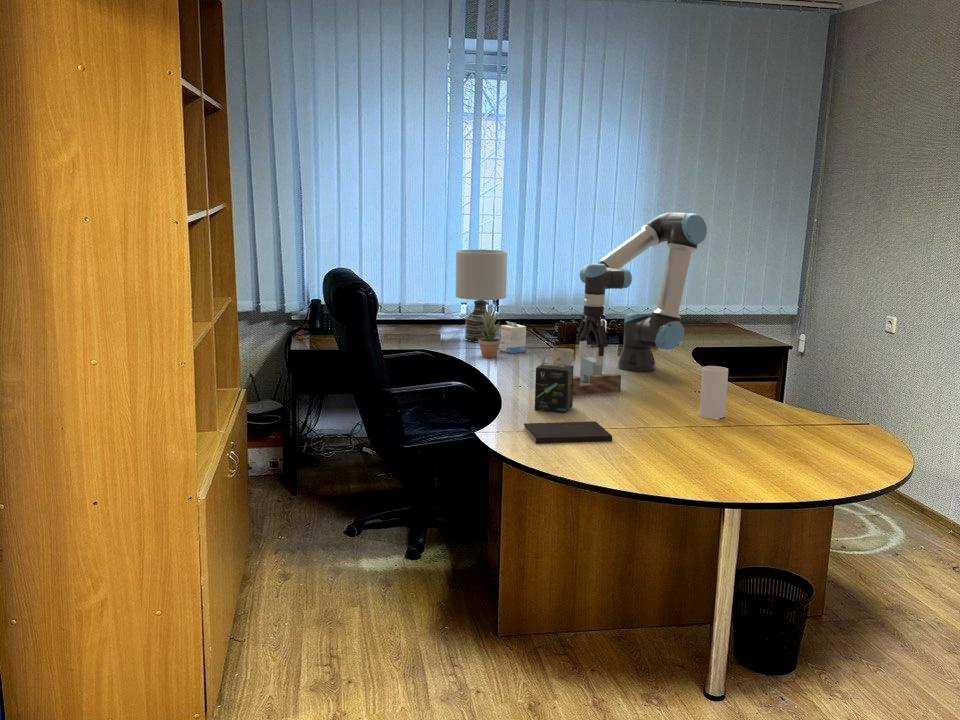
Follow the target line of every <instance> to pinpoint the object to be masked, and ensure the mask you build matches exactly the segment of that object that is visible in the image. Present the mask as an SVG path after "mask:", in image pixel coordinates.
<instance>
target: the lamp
mask: <svg viewBox="0 0 960 720" xmlns="http://www.w3.org/2000/svg"><path fill="white" fill-rule="evenodd" d="M507 274H508V251H507V250H501V249H486V248H485V249H481V248H480V249H479V248H478V249H477V248H476V249H473V248H471V249H469V248H468V249H467V248H466V249H457V250H455V298H458V299H461V300H462V299H464V300H472V301H473V300H474V301H473V305H474V306H473V311H472V313H470V314H469V315H468V316H467V317H466V319H465V323H464V325H465V328H464V330H465V332H464V340H465V339H467V340H471V341H478V340H479V339H482V338H483V337H484V336H483V335H482V333H483V332H485V331H484V330H483V328H484V329H486V328H485V326H484V322H483V319H484V317H485V319H486V315H485V311H486V314H487V317H488V309H487V305H488V300H489V301H497V300H504V299H506V298H507V284H508V283H507V282H508V281H507V279H508V278H507V276H508V275H507ZM483 316H484V317H483ZM490 316H491V317H492V314H490ZM494 326H496V324H494ZM494 326H493V327H494ZM478 327H479V328H480V329H481V330H482V331H483V332H482V331H481V330H480V329H479V328H478ZM482 327H483V328H482ZM481 332H482V333H481ZM484 338H485V337H484ZM467 340H466V341H467Z"/></svg>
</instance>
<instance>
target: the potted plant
mask: <svg viewBox="0 0 960 720" xmlns="http://www.w3.org/2000/svg"><path fill="white" fill-rule="evenodd" d="M489 301H490V300H487V312H488V317H487V314H486V311H485V315H486V319H485V317H484V316H483V317H484V319H483V322H484V326H485V328H486V329H484V328H483V327H482V328H483V330H484V331H485V332H483V331H482V330H481V329H480V328H479V327H478V328H479V329H480V330H481V331H482V332H483V333H482V332H481V333H482V335H483V336H484V337H485V338H484V337H483V338H482V339H479V340H478V342H477V343H478V344H479V348H480V352H481V353H480V354H481V356H482V357H483V356H484V357H483V358H495V356H497V354H498V351H499V346H500V345H501V339H500V338H496V337H497V336H498V334H499V331H498V330H499V329H500V328H501V325H499V324H500V323H501V321H498V323H496V321H497V319H498V316H499V313H496V309H497V304H498V303H497V302H496V303H495V305H494V308H493V311H492V312H490V302H489ZM495 314H496V316H495ZM490 315H491V316H492V317H491V316H490ZM495 323H496V324H495ZM494 324H495V326H494ZM493 326H494V327H493Z"/></svg>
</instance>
